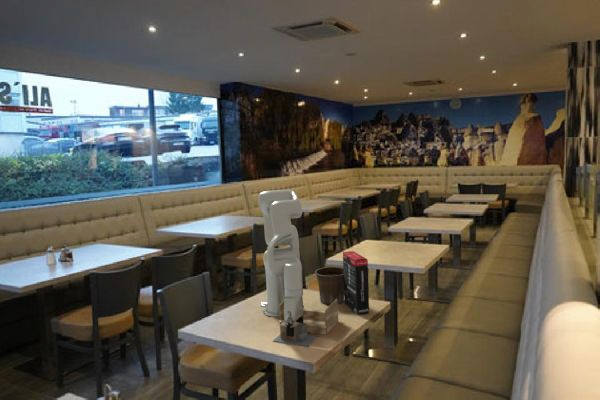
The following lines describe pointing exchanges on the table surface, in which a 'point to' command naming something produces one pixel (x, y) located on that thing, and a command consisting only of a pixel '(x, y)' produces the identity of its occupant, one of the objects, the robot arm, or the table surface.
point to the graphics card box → (356, 282)
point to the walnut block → (299, 332)
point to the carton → (317, 318)
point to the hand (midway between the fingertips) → (295, 331)
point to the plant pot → (331, 284)
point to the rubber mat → (304, 343)
